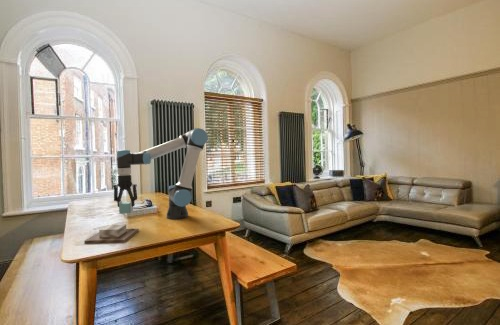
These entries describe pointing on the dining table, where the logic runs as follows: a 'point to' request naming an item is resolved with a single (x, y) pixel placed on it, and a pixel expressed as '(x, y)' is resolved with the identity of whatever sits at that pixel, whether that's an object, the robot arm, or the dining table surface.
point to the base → (109, 240)
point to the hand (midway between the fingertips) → (126, 211)
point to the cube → (124, 208)
